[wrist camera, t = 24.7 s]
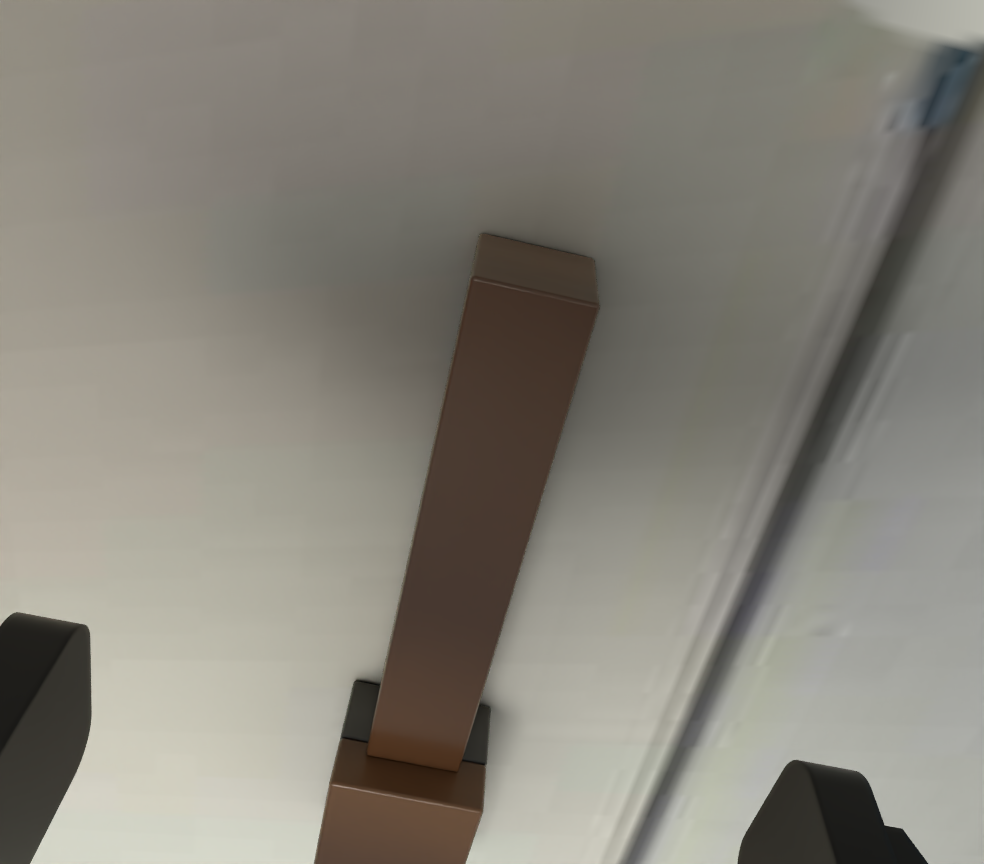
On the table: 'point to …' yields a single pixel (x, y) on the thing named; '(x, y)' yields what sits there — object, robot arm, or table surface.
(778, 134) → the table surface
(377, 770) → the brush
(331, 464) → the table surface
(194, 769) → the table surface
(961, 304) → the table surface
